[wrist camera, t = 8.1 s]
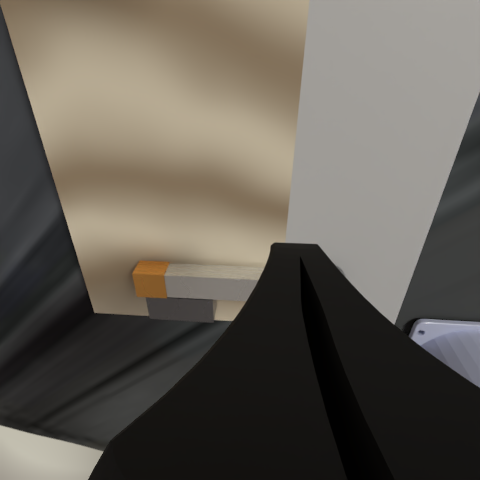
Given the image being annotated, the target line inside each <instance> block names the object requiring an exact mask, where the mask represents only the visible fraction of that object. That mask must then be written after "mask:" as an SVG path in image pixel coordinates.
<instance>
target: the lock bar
mask: <svg viewBox="0 0 480 480" xmlns="http://www.w3.org/2000/svg"><path fill="white" fill-rule="evenodd" d="M335 266H336V265H335ZM336 267H337V268H338V269H339V270H340V271H341V273H342V274H343V275H344V276H345V274H344V272H343V271H342V269H340V268H339V267H338V266H336ZM264 268H265V267H244V266H223V265H201V264H180V263H170V262H163V261H141V260H140V261H139V263H138V264H137V266H136V268H135V270H134V271H133V273H132V276H133V281H134V285H135V290H136V295H137V297H151V298H167V297H174V298H193V299H212V300H231V301H247V299H248V298H249V296H250V294H251V293H252V291H253V289H254V288H255V286H256V284H257V282H258V280H259V278H260V276H261V274H262V272H263V270H264Z"/></svg>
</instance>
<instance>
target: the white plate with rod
mask: <svg viewBox="0 0 480 480" xmlns="http://www.w3.org/2000/svg"><path fill="white" fill-rule="evenodd" d="M479 92H480V0H309V10H308V20H307V30H306V40H305V50H304V60H303V70H302V80H301V90H300V100H299V110H298V120H297V130H296V140H295V150H294V160H293V170H292V180H291V190H290V200H289V210H288V220H287V230H286V240H285V243H305V244H318V245H319V246H320V248H321V249H322V250H323V251H324V252H325V253H326V255H327V256H328V257H329V258H330V260H331V261H332V262H333V263H334V264H335V265H336V266H338V267H339V268H340V269H342V271H343V272H344V274H345V277H346V278H347V279H348V280H349V282H350V283H351V284H352V285H353V286H354V287H355V288H356V289H357V290H358V291H359V292H360V293H361V294H362V295H363V296H364V297H365V298H366V299H367V300H368V301H369V302H370V303H371V304H372V305H373V306H374V307H375V308H376V309H377V310H378V311H379V312H380V313H381V314H382V315H384V316H385V317H386V318H387V319H388V320H389V321H390V322H392V323H393V324H395V321H396V319H397V316H398V313H399V310H400V308H401V305H402V302H403V299H404V297H405V294H406V291H407V289H408V286H409V283H410V280H411V278H412V275H413V272H414V269H415V267H416V264H417V261H418V258H419V256H420V253H421V250H422V248H423V245H424V242H425V239H426V237H427V234H428V231H429V228H430V226H431V223H432V220H433V217H434V215H435V212H436V209H437V206H438V204H439V201H440V198H441V196H442V193H443V190H444V187H445V185H446V182H447V179H448V176H449V174H450V171H451V168H452V165H453V163H454V160H455V157H456V155H457V152H458V149H459V146H460V144H461V141H462V138H463V135H464V133H465V130H466V127H467V124H468V122H469V119H470V116H471V113H472V111H473V108H474V105H475V103H476V100H477V97H478V94H479Z"/></svg>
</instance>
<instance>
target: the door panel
mask: <svg viewBox="0 0 480 480" xmlns="http://www.w3.org/2000/svg"><path fill="white" fill-rule="evenodd" d="M0 4H1V8H2V11H3V14H4V18H5V21H6V24H7V27H8V31H9V34H10V37H11V41H12V44H13V47H14V50H15V54H16V57H17V60H18V64H19V67H20V70H21V73H22V77H23V80H24V83H25V87H26V90H27V93H28V96H29V100H30V103H31V106H32V109H33V113H34V116H35V119H36V123H37V126H38V129H39V132H40V136H41V139H42V142H43V146H44V149H45V152H46V155H47V159H48V162H49V165H50V169H51V172H52V175H53V178H54V182H55V185H56V188H57V191H58V195H59V198H60V201H61V205H62V208H63V211H64V214H65V218H66V221H67V224H68V228H69V231H70V234H71V237H72V241H73V244H74V247H75V251H76V254H77V257H78V260H79V264H80V267H81V270H82V273H83V277H84V280H85V283H86V287H87V290H88V293H89V296H90V300H91V303H92V306H93V310H94V313H106V314H123V315H140V316H149V313H148V308H147V302H146V297H137V295H136V290H135V285H134V281H133V276H132V273H133V271H134V270H135V268H136V266H137V264H138V263H139V261H140V260H141V261H163V262H170V263H180V264H201V265H223V266H244V267H265V265H266V263H267V260H268V257H269V254H270V246H271V245H272V244H273V243H275V242H278V243H285V240H286V230H287V220H288V210H289V200H290V190H291V180H292V170H293V160H294V150H295V140H296V130H297V120H298V110H299V100H300V90H301V80H302V70H303V60H304V50H305V40H306V30H307V20H308V10H309V0H0ZM245 303H246V301H231V300H217V308H216V313H215V319H214V320H224V321H233V320H234V319H235V317H236V316H237V315H238V313H239V312H240V310H241V309H242V307H243V306H244V304H245Z"/></svg>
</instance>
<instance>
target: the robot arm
mask: <svg viewBox="0 0 480 480" xmlns="http://www.w3.org/2000/svg"><path fill="white" fill-rule="evenodd" d="M420 330H421V331H420ZM88 480H480V322H470V321H452V320H435V319H419V320H417V321H415V323H414V324H413V327H412V329H411V332H410V334H409V336H407V335H406V334H405V333H404V332H402V331H401V330H400V329H399V328H398V327H396V326H395V325H394V324H393V323H392V322H390V321H389V320H388V319H387V318H386V317H385V316H384V315H382V314H381V313H380V312H379V311H378V310H377V309H376V308H375V307H374V306H373V305H372V304H371V303H370V302H369V301H368V300H367V299H366V298H365V297H364V296H363V295H362V294H361V293H360V292H359V291H358V290H357V289H356V288H355V287H354V286H353V285H352V284H351V283H350V282H349V280H348V279H347V278H346V277H345V276H344V275H343V274H342V273H341V271H340V270H339V269H338V268H337V267H336V266H335V264H334V263H333V262H332V261H331V260H330V258H329V257H328V256H327V255H326V253H325V252H324V251H323V250H322V249H321V248H320V246H319V245H318V244H305V243H278V242H275V243H273V244H272V245H271V246H270V254H269V257H268V260H267V263H266V265H265V268H264V270H263V272H262V274H261V276H260V278H259V280H258V282H257V284H256V286H255V288H254V289H253V291H252V293H251V294H250V296H249V298H248V299H247V301H246V303H245V304H244V306H243V307H242V309H241V310H240V312H239V313H238V315H237V316H236V317H235V319H234V320H233V321H232V323H231V324H230V325H229V327H228V328H227V329H226V331H225V332H224V333H223V334H222V336H221V337H220V338H219V339H218V340H217V341H216V343H215V344H214V345H213V346H212V347H211V349H210V350H209V351H208V352H207V353H206V354H205V355H204V356H203V357H202V358H201V360H200V361H199V362H198V363H197V364H196V365H195V366H194V367H193V368H192V369H191V370H190V371H189V372H187V373H186V374H185V375H184V376H183V377H182V378H181V379H180V380H179V381H178V382H177V383H176V384H175V385H174V386H173V387H172V388H171V389H170V390H169V391H168V392H167V393H166V394H165V395H164V396H163V397H161V398H160V399H159V400H158V401H157V402H156V403H154V404H153V405H152V406H151V407H150V408H149V409H147V410H146V411H145V412H144V413H143V414H141V415H140V416H139V417H138V418H137V419H135V420H134V421H133V422H132V423H131V424H130V425H128V426H127V427H126V428H125V429H124V430H122V431H121V432H120V433H119V434H118V435H116V436H115V437H114V438H113V439H112V440H111V441H110V442H109V444H108V445H107V447H106V449H105V450H104V452H103V454H102V456H101V457H100V459H99V461H98V462H97V464H96V466H95V468H94V469H93V471H92V473H91V475H90V477H89V479H88Z"/></svg>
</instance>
